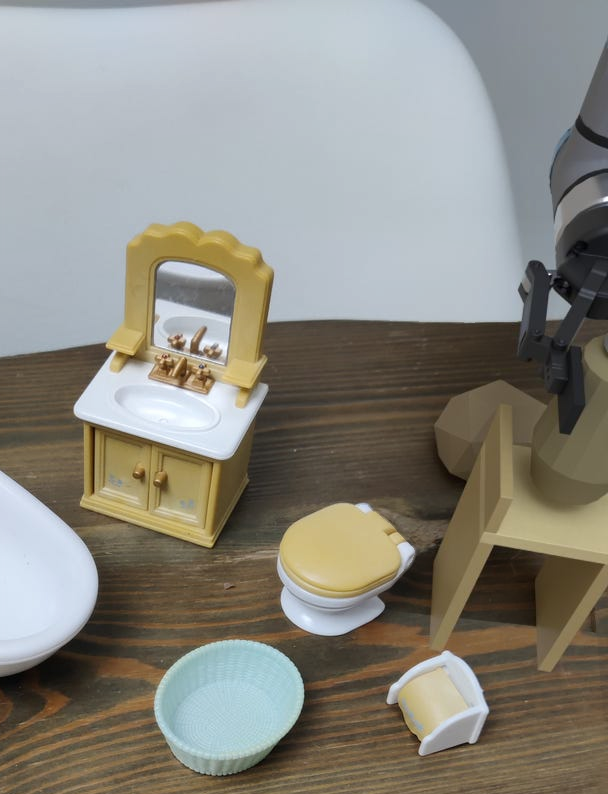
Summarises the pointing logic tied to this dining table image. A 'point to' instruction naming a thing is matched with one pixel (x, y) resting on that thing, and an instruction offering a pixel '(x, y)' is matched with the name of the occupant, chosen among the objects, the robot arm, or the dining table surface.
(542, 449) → the squeeze bottle
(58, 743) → the dining table surface
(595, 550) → the tan chair
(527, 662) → the dining table surface
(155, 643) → the dining table surface
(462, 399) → the low-poly potato
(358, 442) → the dining table surface
